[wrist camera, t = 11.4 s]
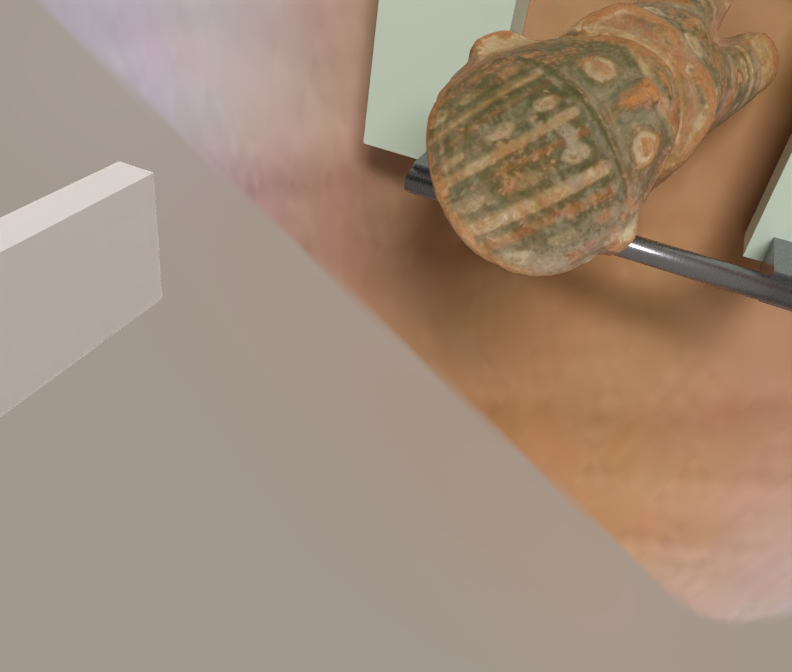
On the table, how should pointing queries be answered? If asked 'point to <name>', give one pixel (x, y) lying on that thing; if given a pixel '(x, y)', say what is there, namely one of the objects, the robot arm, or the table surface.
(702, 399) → the table surface
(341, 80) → the table surface
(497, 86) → the figurine
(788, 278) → the bar handle
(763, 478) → the table surface
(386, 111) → the pale green u-shaped slab
